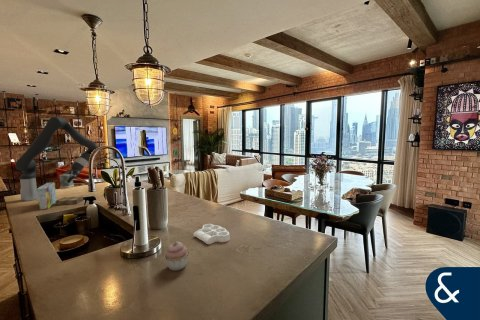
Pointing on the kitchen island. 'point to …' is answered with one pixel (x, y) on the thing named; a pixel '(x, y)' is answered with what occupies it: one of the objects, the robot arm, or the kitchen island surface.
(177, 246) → the cupcake
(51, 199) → the snack box
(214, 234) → the white paint palette
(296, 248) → the kitchen island surface
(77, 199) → the dock
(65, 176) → the pallet crate
